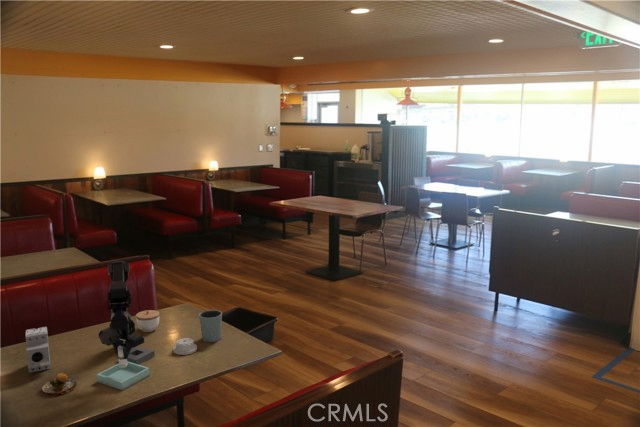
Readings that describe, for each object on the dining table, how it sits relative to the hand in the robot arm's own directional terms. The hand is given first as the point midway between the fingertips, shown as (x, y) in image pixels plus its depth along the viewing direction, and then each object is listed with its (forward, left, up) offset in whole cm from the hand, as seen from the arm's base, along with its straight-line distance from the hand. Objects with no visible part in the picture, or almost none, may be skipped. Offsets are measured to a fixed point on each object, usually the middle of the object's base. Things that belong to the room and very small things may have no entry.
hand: (122, 358), depth 206 cm
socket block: (-9, +15, -8) cm, 19 cm away
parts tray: (0, 0, -8) cm, 8 cm away
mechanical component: (+3, +31, -9) cm, 32 cm away
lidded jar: (-28, +40, -9) cm, 50 cm away
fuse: (0, 0, -4) cm, 4 cm away
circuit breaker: (-35, -11, -9) cm, 38 cm away
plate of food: (-15, -17, -9) cm, 24 cm away
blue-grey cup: (+5, +46, -9) cm, 47 cm away
